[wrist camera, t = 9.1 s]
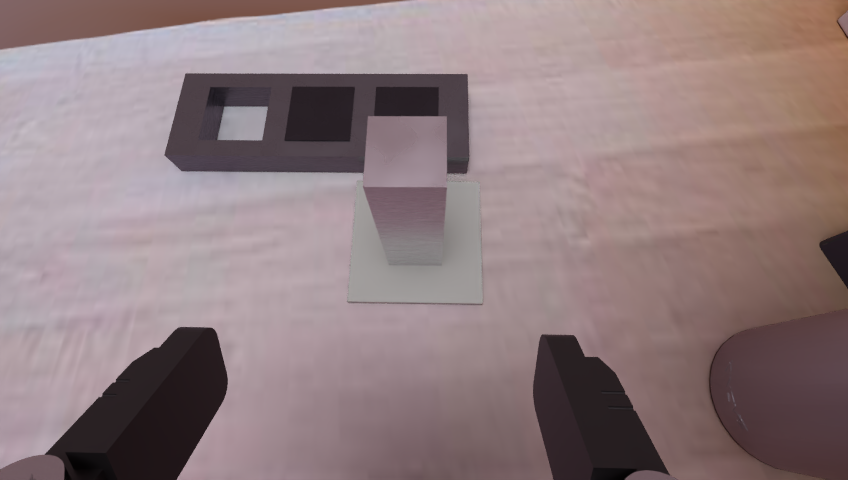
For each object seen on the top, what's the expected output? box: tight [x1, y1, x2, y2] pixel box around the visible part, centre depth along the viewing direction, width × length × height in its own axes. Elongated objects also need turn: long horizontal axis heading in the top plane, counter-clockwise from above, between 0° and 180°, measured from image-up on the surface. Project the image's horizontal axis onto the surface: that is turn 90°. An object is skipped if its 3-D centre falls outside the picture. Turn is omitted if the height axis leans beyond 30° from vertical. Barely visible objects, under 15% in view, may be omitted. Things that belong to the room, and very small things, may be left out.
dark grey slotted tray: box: [165, 74, 469, 173], centre depth 36 cm, size 24×8×3 cm, turn 89°
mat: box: [347, 181, 483, 305], centre depth 34 cm, size 10×10×1 cm
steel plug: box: [363, 116, 447, 266], centre depth 27 cm, size 4×4×13 cm
